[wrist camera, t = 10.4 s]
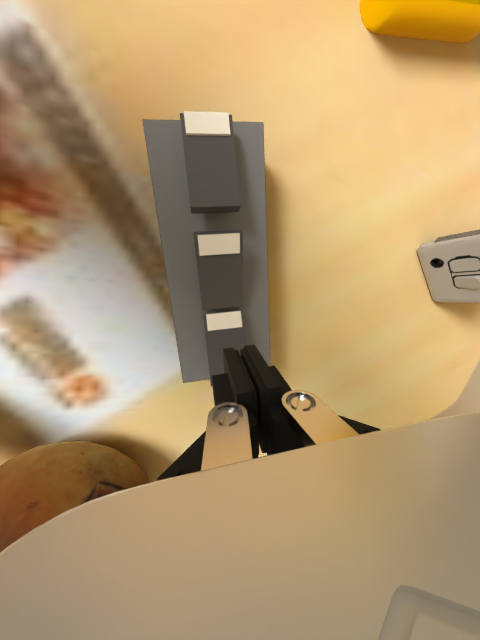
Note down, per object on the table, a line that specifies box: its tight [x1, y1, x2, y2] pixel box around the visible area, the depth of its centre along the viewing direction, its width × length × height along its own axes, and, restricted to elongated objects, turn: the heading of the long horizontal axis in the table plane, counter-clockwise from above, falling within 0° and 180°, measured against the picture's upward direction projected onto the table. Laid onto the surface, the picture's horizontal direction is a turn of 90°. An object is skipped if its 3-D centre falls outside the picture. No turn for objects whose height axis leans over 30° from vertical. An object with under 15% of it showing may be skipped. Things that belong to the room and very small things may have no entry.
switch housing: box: [142, 119, 270, 383], centre depth 24 cm, size 24×10×6 cm, turn 4°
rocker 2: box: [193, 230, 243, 310], centre depth 20 cm, size 7×4×1 cm, turn 4°
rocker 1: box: [180, 111, 241, 214], centre depth 18 cm, size 7×4×1 cm, turn 4°
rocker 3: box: [203, 311, 247, 386], centre depth 23 cm, size 7×4×1 cm, turn 4°
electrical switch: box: [417, 230, 480, 303], centre depth 28 cm, size 9×5×9 cm, turn 33°
